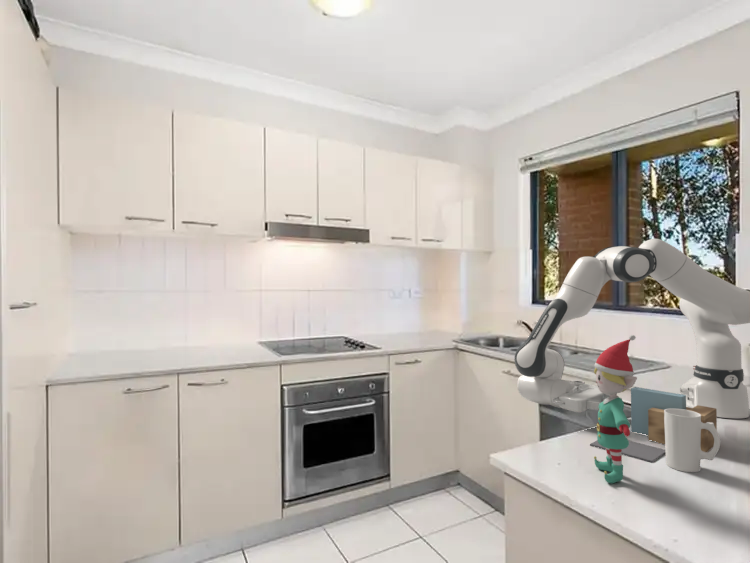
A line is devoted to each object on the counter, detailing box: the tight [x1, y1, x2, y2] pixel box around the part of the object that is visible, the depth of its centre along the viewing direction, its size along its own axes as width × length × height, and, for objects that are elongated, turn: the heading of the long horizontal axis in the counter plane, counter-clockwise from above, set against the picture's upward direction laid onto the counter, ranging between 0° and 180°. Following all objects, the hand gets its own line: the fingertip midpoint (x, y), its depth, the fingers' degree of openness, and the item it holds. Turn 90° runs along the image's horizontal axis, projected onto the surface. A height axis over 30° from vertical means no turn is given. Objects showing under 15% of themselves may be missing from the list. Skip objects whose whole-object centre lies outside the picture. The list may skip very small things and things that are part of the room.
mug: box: [664, 409, 721, 473], centre depth 97 cm, size 10×7×12 cm, turn 45°
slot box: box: [647, 405, 718, 452], centre depth 113 cm, size 12×10×9 cm
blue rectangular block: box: [630, 386, 686, 435], centre depth 118 cm, size 12×3×12 cm, turn 39°
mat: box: [589, 440, 666, 463], centre depth 109 cm, size 14×10×1 cm
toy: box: [593, 334, 638, 484], centre depth 94 cm, size 17×8×30 cm, turn 167°
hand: (613, 404), depth 127 cm, fingers open, 8 cm apart
